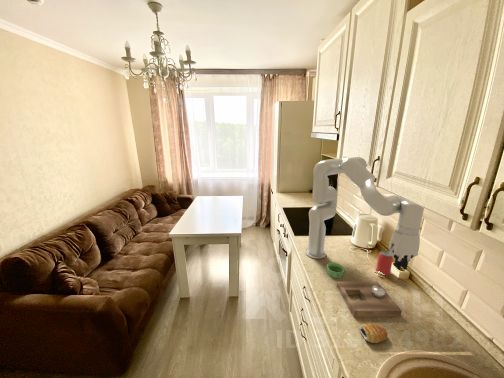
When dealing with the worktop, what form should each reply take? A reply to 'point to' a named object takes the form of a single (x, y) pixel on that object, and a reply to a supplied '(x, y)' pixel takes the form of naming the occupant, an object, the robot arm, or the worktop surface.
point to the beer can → (384, 263)
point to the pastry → (373, 333)
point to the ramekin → (336, 267)
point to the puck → (378, 292)
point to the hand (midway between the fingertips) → (400, 267)
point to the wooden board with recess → (367, 300)
